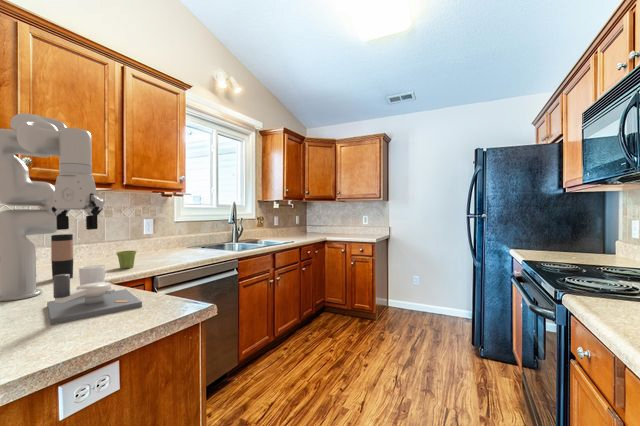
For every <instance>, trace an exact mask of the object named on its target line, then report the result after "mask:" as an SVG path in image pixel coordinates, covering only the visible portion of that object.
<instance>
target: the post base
mask: <svg viewBox="0 0 640 426" xmlns="http://www.w3.org/2000/svg"><path fill="white" fill-rule="evenodd" d="M46 303H47V304H46V307H47V312H48V317H49V321H50V325H51V326H53V325H57V323H58V324H62V323H68V322H72V321H77V320H82V319H86V318H87V319H88V318H90V317H96V316H100V315H101V316H102V315H106V314H112V313H116V312H121V311H126V310H131V309H136V308H140V307H141V308H142V307H143V302H142V301H141V300H140V299H139V298H138V297H136V296H135V295H134V294H133V293H132V292H130V291H129V290H128V289H127V288H124V289H118V290H115V293H112V294H104V295H100V296H94V297H78V298H75V299H72V300H69V301H66V302H64V303H55V300H51V301H47V302H46ZM52 324H53V325H52Z"/></svg>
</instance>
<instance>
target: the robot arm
mask: <svg viewBox="0 0 640 426" xmlns="http://www.w3.org/2000/svg"><path fill="white" fill-rule="evenodd" d="M10 127H11V129H9V128H0V203H1V204H2V205H5V206H9V207H10V206H11V207H38V209H27V208H26V209H25V208H24V209H22V208H21V209H19V208H17V209H16V208H15V209H5V210H2V211H0V302H6V301H10V302H11V301H16V300H18V301H19V300H23V299H28V298H29V299H30V298H32V297H36V296H38V295H41V294H42V292H43V289H41V288H37V262H36V261H37V260H36V259H37V258H36V257H37V255H36V250H37V249H36V246H35V244H34V242H33V241H32V240H30V239H29V238H28V237H27V236H34V235H35V236H36V235H48V234H49V235H50V234H54V233H56V232H57V231H64V230H69V229H70V224H69V223H70V221H69V220H70V219H69V216H68V214H69V213H70V211H71V210H75V211H76V210H82V211H84V212H85V213H86V214H87V215H86V216H85V229H86V230H87V231H89V230H98V227H99V226H98V223H99V221H98V216H100V213H101V212H102V211H103V207H104V206H105V202H106V201H105V200H104V199H102V198H101V197H98V196H97V188H96V187H97V186H96V183H95V179H94V177H95V176H93V160H92V158H93V156H92V155H93V153H92V151H93V150H92V147H93V146H92V135H91V132H89V131H88V130H85V129H82V128H76V127H67V126H66V125H65V123H64V122H62V121H61V120H59V119H56V118H52V117H47V116H42V115H37V114H33V113H26V112H24V113H23V112H22V113H17V114H15V115H13V116H12V118H11V119H10ZM16 155H19V156H20V155H21V156H29V157H37V158H49V157H50V158H51V157H53V156H55V157H58V161H59V162H58V163H59V164H58V166H59V168H58V172H59V173H58V174H59V175H57V176H56V180H55V185H53V184H51V183H49V182H47V181H35V180H31V178H30V173H29V172H30V171H29V168H28V166H27V164H26V163H25V162H23V160H22V159H20V158H19V157H18V156H16Z"/></svg>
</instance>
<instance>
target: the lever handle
mask: <svg viewBox="0 0 640 426" xmlns="http://www.w3.org/2000/svg"><path fill="white" fill-rule="evenodd" d="M52 284H53V285H52V287H53V299H54V301H55V303H64V302H66V301H69V300H72V299H75V298H78V297H94V296H100V295H104V294H112V293H115V291H116V289H115V288H113V289H112V283H111V282H107V281H106V282H105V281H104V282H98V283H90V284H85V285H81V286H80V285H78V286H77V287H76V288H75V289H76V290H74V291H71V278H70V274H60V275H55V276H53V278H52Z"/></svg>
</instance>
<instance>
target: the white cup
mask: <svg viewBox="0 0 640 426" xmlns="http://www.w3.org/2000/svg"><path fill="white" fill-rule="evenodd" d="M78 273H79V277H78V278H79V284H80V285H79V286H81V285H85V284H90V283H98V282H105V280H106V279H105V277H106V276H105V275H106V265H105V264H92V265H85V266H80V267H79V268H78Z"/></svg>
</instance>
